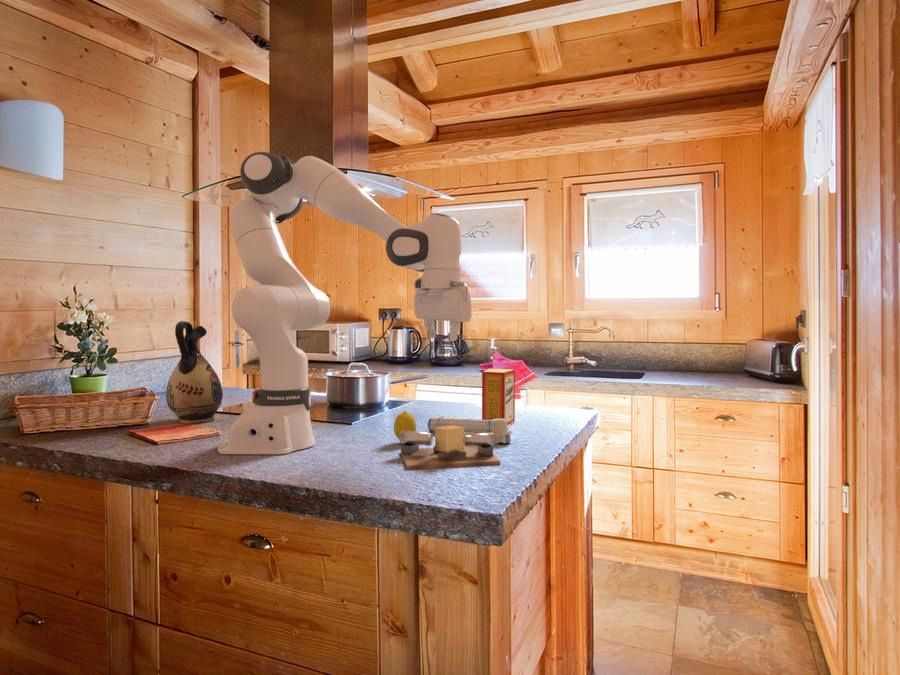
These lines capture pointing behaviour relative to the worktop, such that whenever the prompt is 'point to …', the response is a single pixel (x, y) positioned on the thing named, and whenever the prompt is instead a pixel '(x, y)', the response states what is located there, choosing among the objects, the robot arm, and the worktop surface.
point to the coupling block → (449, 438)
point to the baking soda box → (498, 394)
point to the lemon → (404, 423)
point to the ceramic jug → (193, 380)
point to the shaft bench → (447, 458)
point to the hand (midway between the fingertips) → (441, 339)
